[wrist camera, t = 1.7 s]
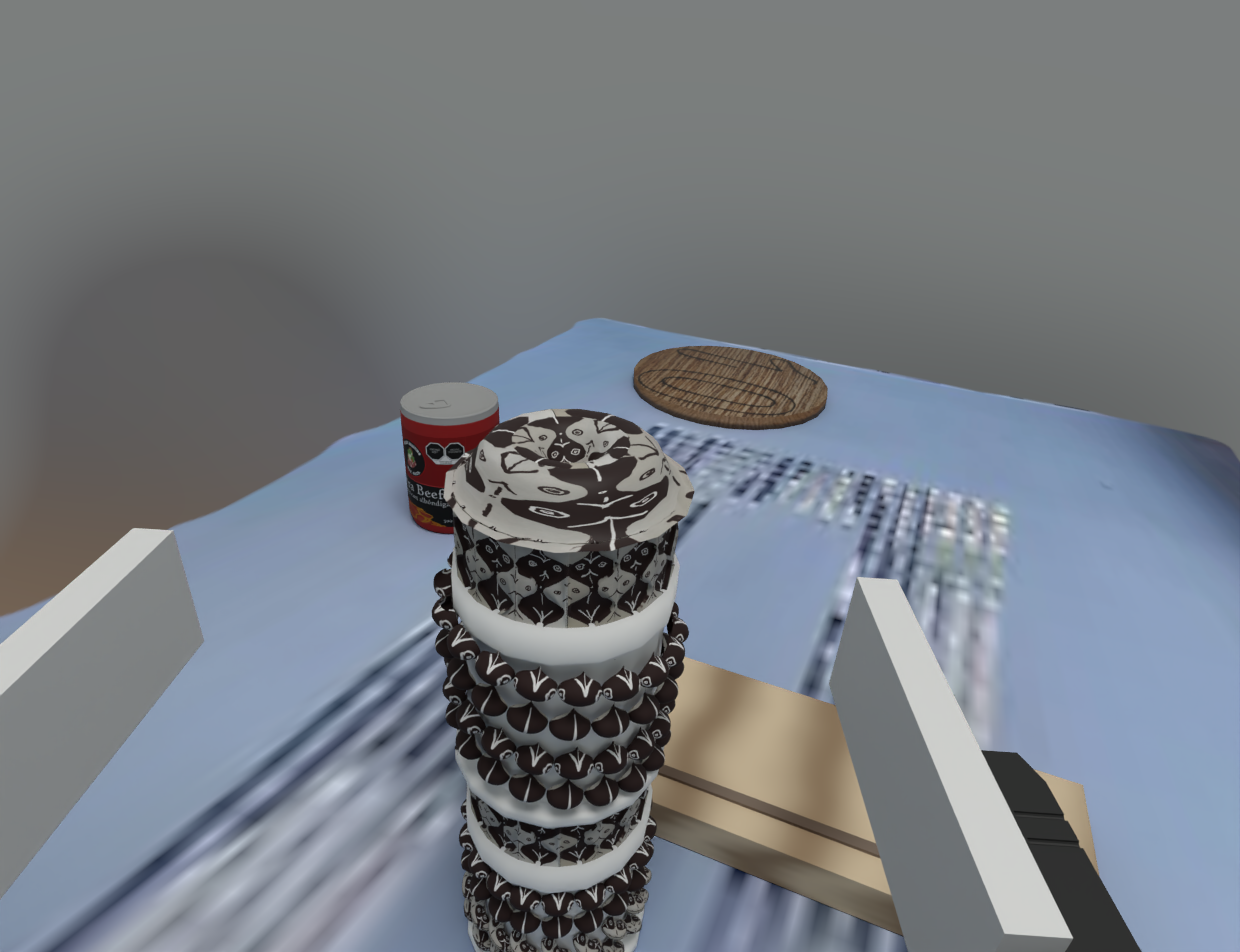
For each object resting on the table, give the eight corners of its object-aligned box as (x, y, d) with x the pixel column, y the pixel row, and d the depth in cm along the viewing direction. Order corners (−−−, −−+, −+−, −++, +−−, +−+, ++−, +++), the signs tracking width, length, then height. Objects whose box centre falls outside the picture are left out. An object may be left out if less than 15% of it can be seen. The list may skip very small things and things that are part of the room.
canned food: (394, 509, 66) (382, 395, 60) (469, 482, 71) (465, 374, 65) (440, 547, 61) (431, 427, 56) (518, 515, 66) (517, 402, 61)
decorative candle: (444, 848, 38) (403, 395, 26) (614, 801, 41) (649, 376, 29) (476, 1045, 30) (439, 537, 18) (681, 970, 33) (768, 491, 21)
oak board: (535, 786, 41) (535, 753, 40) (611, 662, 50) (614, 631, 49) (1097, 1014, 32) (1120, 981, 31) (1066, 814, 42) (1084, 782, 40)
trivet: (669, 347, 110) (670, 335, 109) (838, 379, 102) (840, 366, 102) (602, 404, 90) (603, 390, 89) (806, 450, 82) (809, 435, 81)
